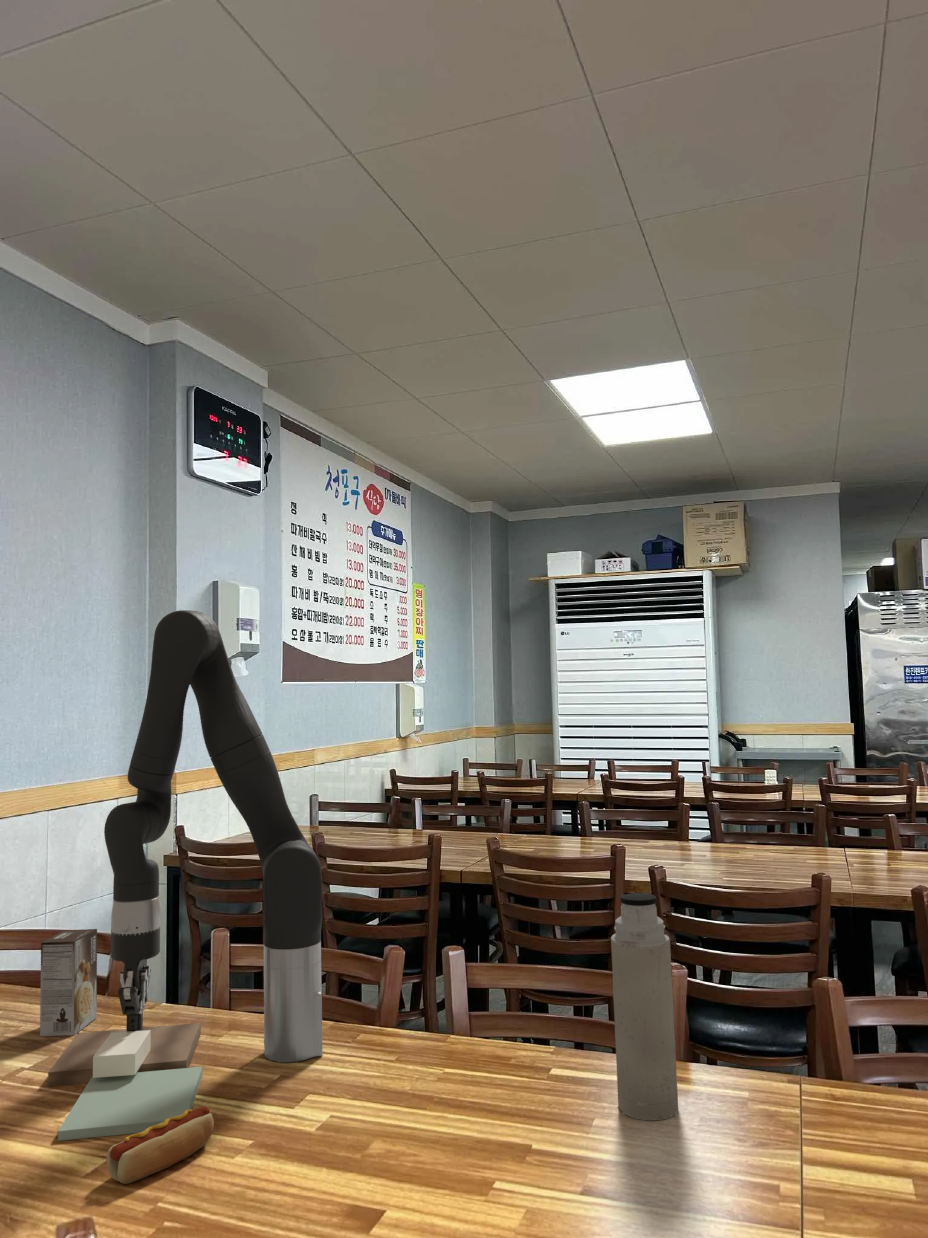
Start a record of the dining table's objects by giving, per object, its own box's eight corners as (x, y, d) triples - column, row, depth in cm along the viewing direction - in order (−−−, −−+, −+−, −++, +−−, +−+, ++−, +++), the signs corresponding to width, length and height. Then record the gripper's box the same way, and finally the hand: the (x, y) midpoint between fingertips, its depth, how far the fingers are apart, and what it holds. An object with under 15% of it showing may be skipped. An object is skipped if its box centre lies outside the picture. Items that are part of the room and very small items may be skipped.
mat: (202, 1075, 137) (202, 1066, 137) (185, 1128, 119) (185, 1118, 119) (92, 1085, 134) (92, 1076, 134) (57, 1141, 117) (58, 1131, 117)
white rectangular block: (150, 1050, 142) (150, 1030, 143) (135, 1075, 132) (135, 1053, 133) (111, 1052, 142) (111, 1032, 142) (92, 1078, 132) (93, 1056, 132)
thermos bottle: (626, 1091, 127) (617, 888, 129) (683, 1100, 123) (672, 891, 126) (611, 1115, 119) (601, 899, 122) (671, 1125, 116) (660, 903, 119)
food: (125, 1196, 103) (126, 1150, 103) (97, 1183, 106) (98, 1139, 106) (222, 1147, 114) (222, 1105, 115) (194, 1136, 117) (194, 1096, 118)
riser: (200, 1035, 154) (200, 1023, 154) (186, 1074, 137) (186, 1060, 138) (77, 1045, 151) (77, 1033, 151) (47, 1086, 134) (48, 1072, 134)
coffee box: (63, 1019, 165) (64, 929, 166) (97, 1018, 164) (98, 928, 166) (38, 1037, 155) (40, 941, 157) (74, 1036, 155) (76, 940, 157)
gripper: (151, 935, 140) (150, 1051, 138) (167, 916, 153) (166, 1022, 151) (101, 938, 138) (99, 1055, 137) (121, 918, 151) (119, 1025, 150)
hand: (134, 1037), depth 144 cm, fingers closed
